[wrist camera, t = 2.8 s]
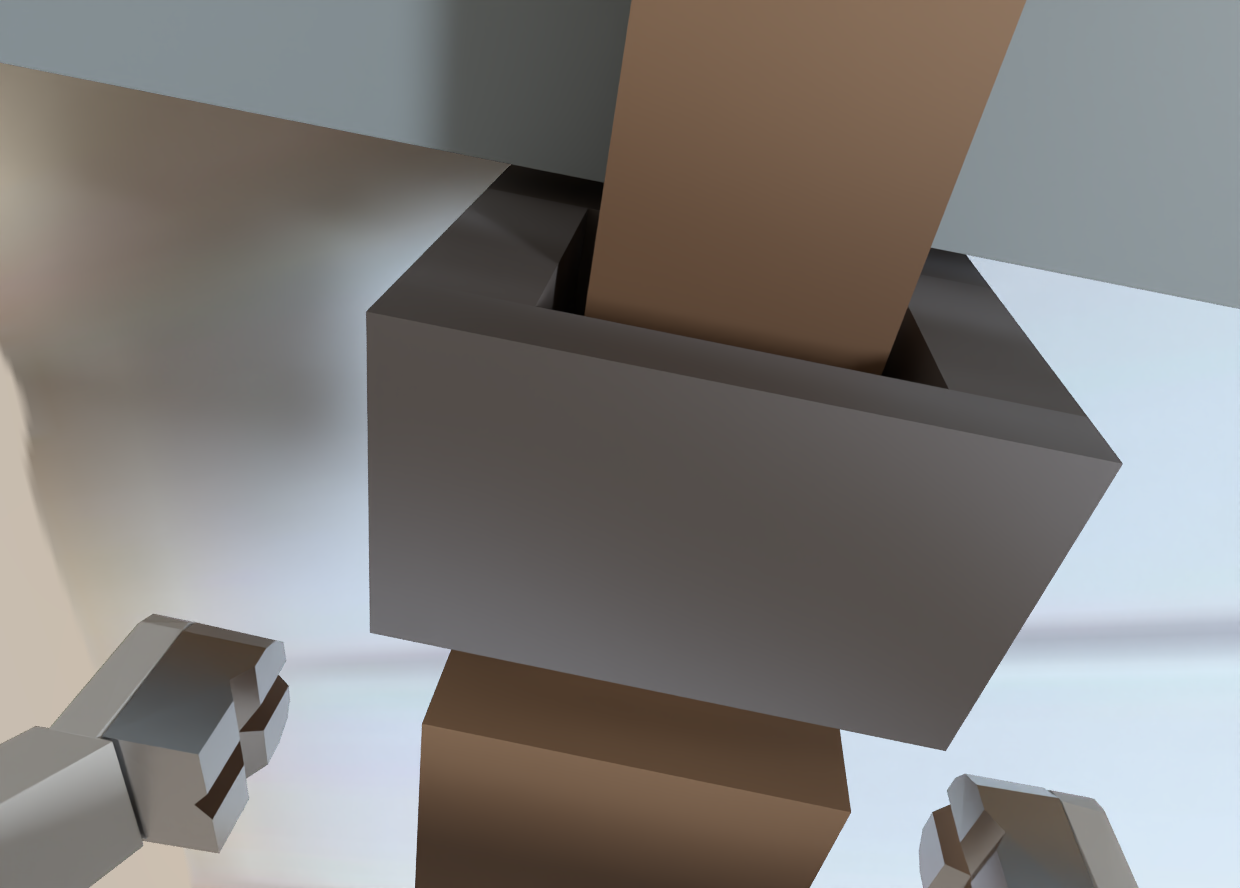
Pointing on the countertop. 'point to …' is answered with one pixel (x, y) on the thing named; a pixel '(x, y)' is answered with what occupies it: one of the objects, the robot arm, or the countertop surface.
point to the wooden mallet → (742, 317)
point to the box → (711, 484)
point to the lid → (588, 86)
